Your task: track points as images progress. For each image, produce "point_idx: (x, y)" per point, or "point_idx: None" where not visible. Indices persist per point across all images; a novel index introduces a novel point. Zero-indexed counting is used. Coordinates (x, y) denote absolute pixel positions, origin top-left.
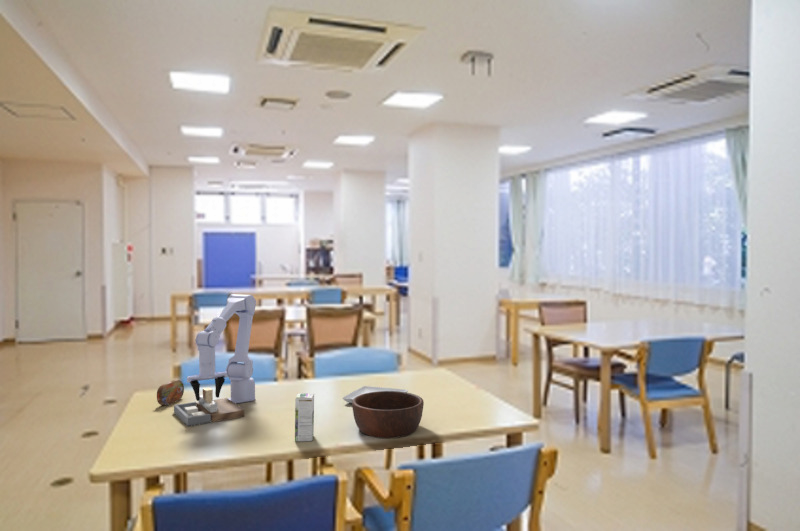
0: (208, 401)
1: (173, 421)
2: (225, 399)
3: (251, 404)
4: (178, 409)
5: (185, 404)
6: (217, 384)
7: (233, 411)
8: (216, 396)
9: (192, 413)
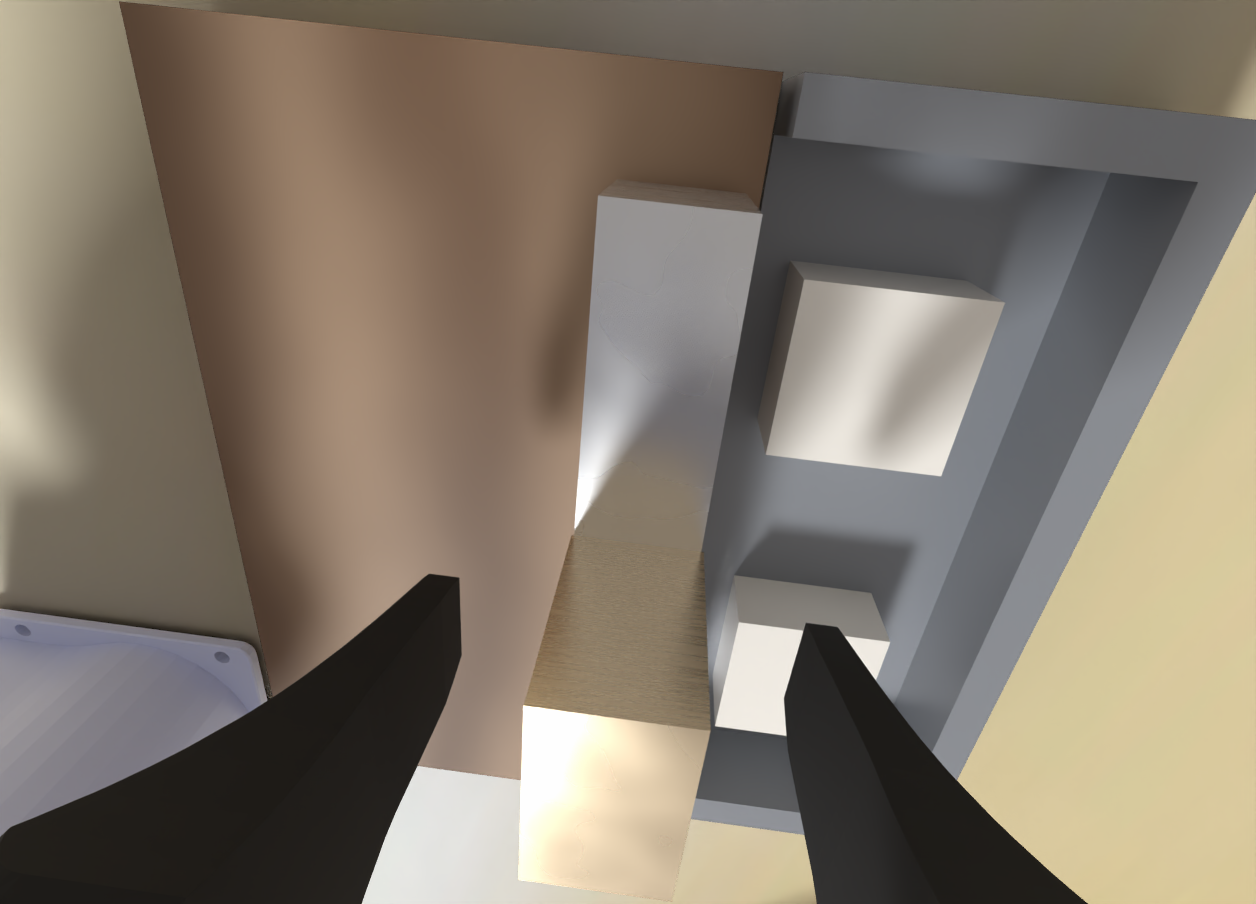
0: (670, 509)
1: (1103, 515)
2: None
3: (54, 509)
4: (1002, 688)
5: (796, 806)
6: (317, 840)
7: (334, 37)
8: (456, 621)
9: (937, 450)
